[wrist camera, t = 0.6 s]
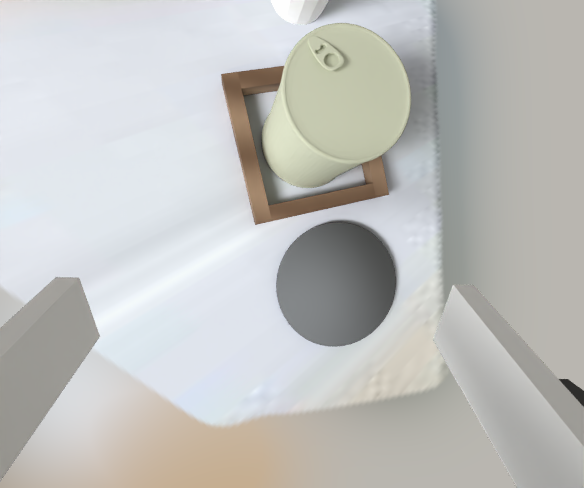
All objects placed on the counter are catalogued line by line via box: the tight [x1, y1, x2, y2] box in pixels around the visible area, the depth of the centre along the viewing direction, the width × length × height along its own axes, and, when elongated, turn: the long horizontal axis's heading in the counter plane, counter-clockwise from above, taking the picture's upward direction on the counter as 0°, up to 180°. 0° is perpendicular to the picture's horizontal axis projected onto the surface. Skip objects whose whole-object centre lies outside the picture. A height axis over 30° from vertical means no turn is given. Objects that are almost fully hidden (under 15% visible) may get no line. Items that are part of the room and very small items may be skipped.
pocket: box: [221, 66, 389, 225], centre depth 31 cm, size 14×14×2 cm
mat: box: [276, 222, 396, 346], centre depth 33 cm, size 13×13×1 cm
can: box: [261, 23, 411, 188], centre depth 26 cm, size 9×9×12 cm
